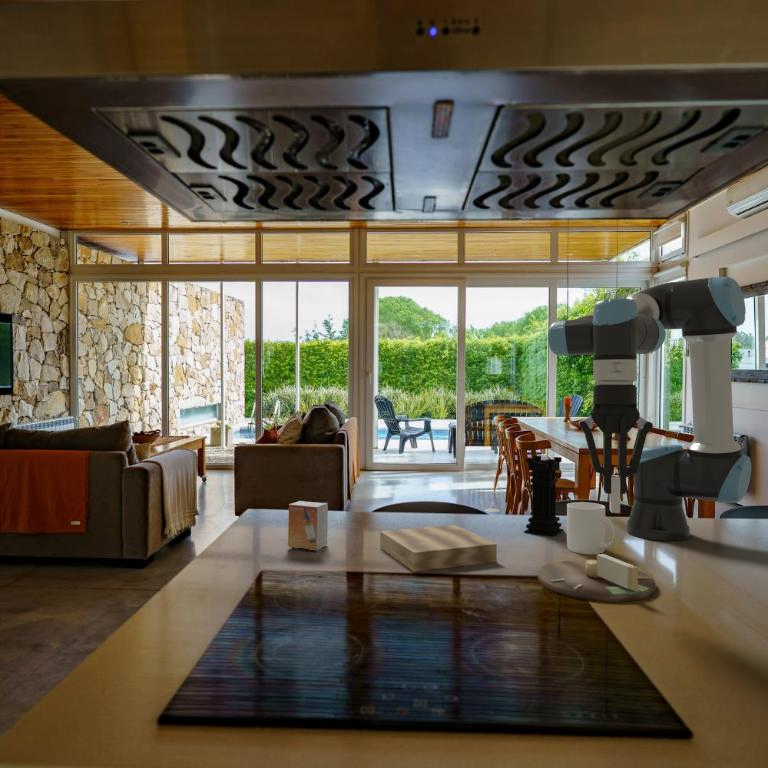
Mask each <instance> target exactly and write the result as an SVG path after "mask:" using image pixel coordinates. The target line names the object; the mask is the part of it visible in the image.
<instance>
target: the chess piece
mask: <svg viewBox="0 0 768 768" xmlns="http://www.w3.org/2000/svg"><path fill="white" fill-rule="evenodd" d="M562 459H563V458H562V456H554V457H553V458H549V459H548V458H547V459H546V460H542V455H533V457H526V460H525V461H526V464H527V465H528V466H527V467H528V469H527V471H531V472H532V473H531V475H532V476H531V478H530V483H531V488H532V489H531V491H532V492H531V510H532V511H531V516H530V517H529V518H527V521H528V523H527V524H526V525H525V528H526V530H524V531H523V533H524V534H529V535H530V534H531V535H538V536H543V537H544V536H545V537H552V538H555V537H556V536H558V535H559V534H560V533H562V532H563V531H564V528H561V527H562V522H559V521H560V519H561V518H560V517H559V516H556V515H557V514H556V508H557V507H556V506H557V503H556V502H557V499H556V498H557V497H556V495H557V494H556V492H557V491H556V489H557V483H558V482H559V481H558V480H559V478H557V476H556V475H557V473H556V471H559V470H560V469H561V468H560V466H561V464H560V463H562Z"/></svg>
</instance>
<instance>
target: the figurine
mask: <svg viewBox="0 0 768 768" xmlns="http://www.w3.org/2000/svg"><path fill="white" fill-rule="evenodd" d="M495 507H497V508H495ZM499 507H500V508H502V509H499ZM476 508H477V509H478V508H480V509H482V508H483V509H485V508H486V509H485V510H484V511H485V512H488V513H489V512H490V513H498V512H502V511H504V506H503V505H497V504H495V505H494V504H489V503H488V504H486V503H485V504H483V503H480V502H477V504H476Z"/></svg>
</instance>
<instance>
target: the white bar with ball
mask: <svg viewBox="0 0 768 768" xmlns="http://www.w3.org/2000/svg"><path fill="white" fill-rule="evenodd" d="M585 561H586V575H587V576H589V577H594V578H605V579H607V580H609V581H611V582H614V583H616V584H618V585H620V586H623V587H625V588H627V589H631V590H638V571H639V569H638V567H637V566H636V565H633V564H631V563H629V562H625V561H623V560H621V559H618V558H615V557H613V556H611V555H610V556H609V555H607V554H605V553H601V554H596V559H587V560H585Z"/></svg>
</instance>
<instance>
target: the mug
mask: <svg viewBox="0 0 768 768" xmlns="http://www.w3.org/2000/svg"><path fill="white" fill-rule="evenodd" d="M566 512H567V513H566V546H567V550H569V552H572V553H576V554H580V555H598V554H600V553H601V554H604V552H605V550H607V549H610V548H611V547H612V546H613V544H614V541H615V528H614V525H613V522H612V521H611V520H610V519H609V518H608V517H607V515H606V506H605V505H603V504H600V503H595V502H585V501H580V502H578V501H577V502H575V501H574V502H569V503H566ZM606 525H607V526H608V527H609V528H610V530H611V534H612V538H611V540H610V541H609V542H606Z"/></svg>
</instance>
